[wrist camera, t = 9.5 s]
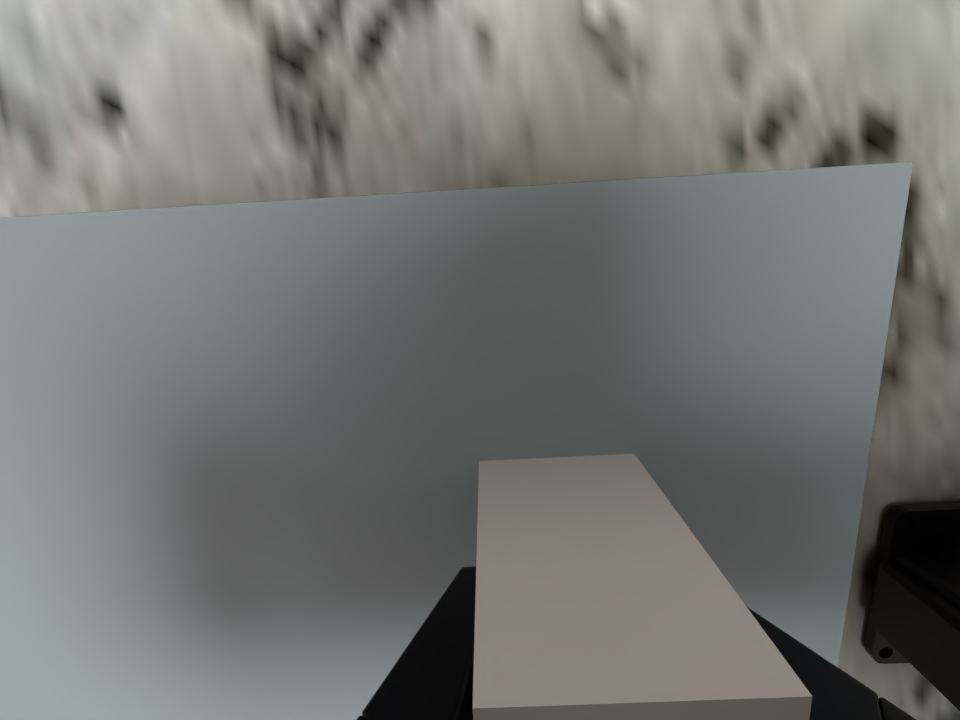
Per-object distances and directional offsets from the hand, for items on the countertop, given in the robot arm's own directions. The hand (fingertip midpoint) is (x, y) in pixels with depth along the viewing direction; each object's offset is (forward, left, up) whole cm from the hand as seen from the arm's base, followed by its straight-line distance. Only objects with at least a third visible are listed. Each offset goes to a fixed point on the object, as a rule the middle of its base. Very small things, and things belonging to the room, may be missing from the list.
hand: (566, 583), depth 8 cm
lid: (+4, 0, -2) cm, 4 cm away
